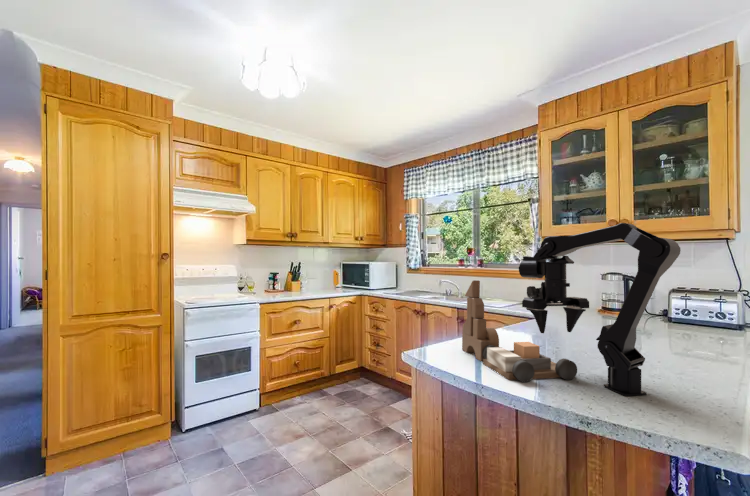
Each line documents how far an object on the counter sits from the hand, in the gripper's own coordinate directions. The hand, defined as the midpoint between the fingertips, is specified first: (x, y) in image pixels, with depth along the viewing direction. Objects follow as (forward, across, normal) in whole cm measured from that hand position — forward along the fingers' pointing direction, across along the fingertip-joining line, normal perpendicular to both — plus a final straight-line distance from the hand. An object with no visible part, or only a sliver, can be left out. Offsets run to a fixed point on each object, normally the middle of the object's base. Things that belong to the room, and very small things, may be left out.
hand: (555, 332), depth 102 cm
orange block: (+10, +8, -2) cm, 13 cm away
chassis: (+11, +8, -2) cm, 14 cm away
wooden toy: (+11, +14, -20) cm, 26 cm away
